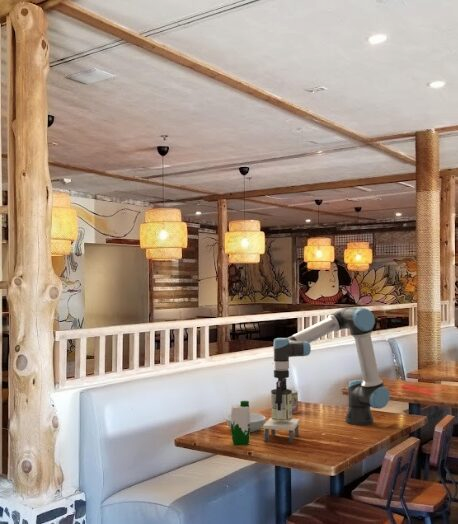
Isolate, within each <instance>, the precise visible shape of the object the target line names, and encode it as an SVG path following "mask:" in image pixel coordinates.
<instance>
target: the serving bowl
mask: <svg viewBox="0 0 458 524" xmlns="http://www.w3.org/2000/svg"><path fill="white" fill-rule="evenodd" d="M266 419H267V418H266V416H264V415H263V414H259V413H250V433H253V432H256V431H259V430H261V429H263V425H264V424H265V423H266V421H267V420H266ZM225 420H226V424H227V426H228V427H229V428H230V429H231V414H229V415H227V416H226V417H225Z"/></svg>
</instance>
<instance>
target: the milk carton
mask: <svg viewBox="0 0 458 524" xmlns="http://www.w3.org/2000/svg"><path fill="white" fill-rule="evenodd" d="M249 404H250V401H249V400H240V404H239V403H237V404H231V411H230V415H231V428H230V435H231V441H232V443H233V446H249V445H250V436H251V435H250V434H251V432H250V412H251V411H250V405H249Z"/></svg>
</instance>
